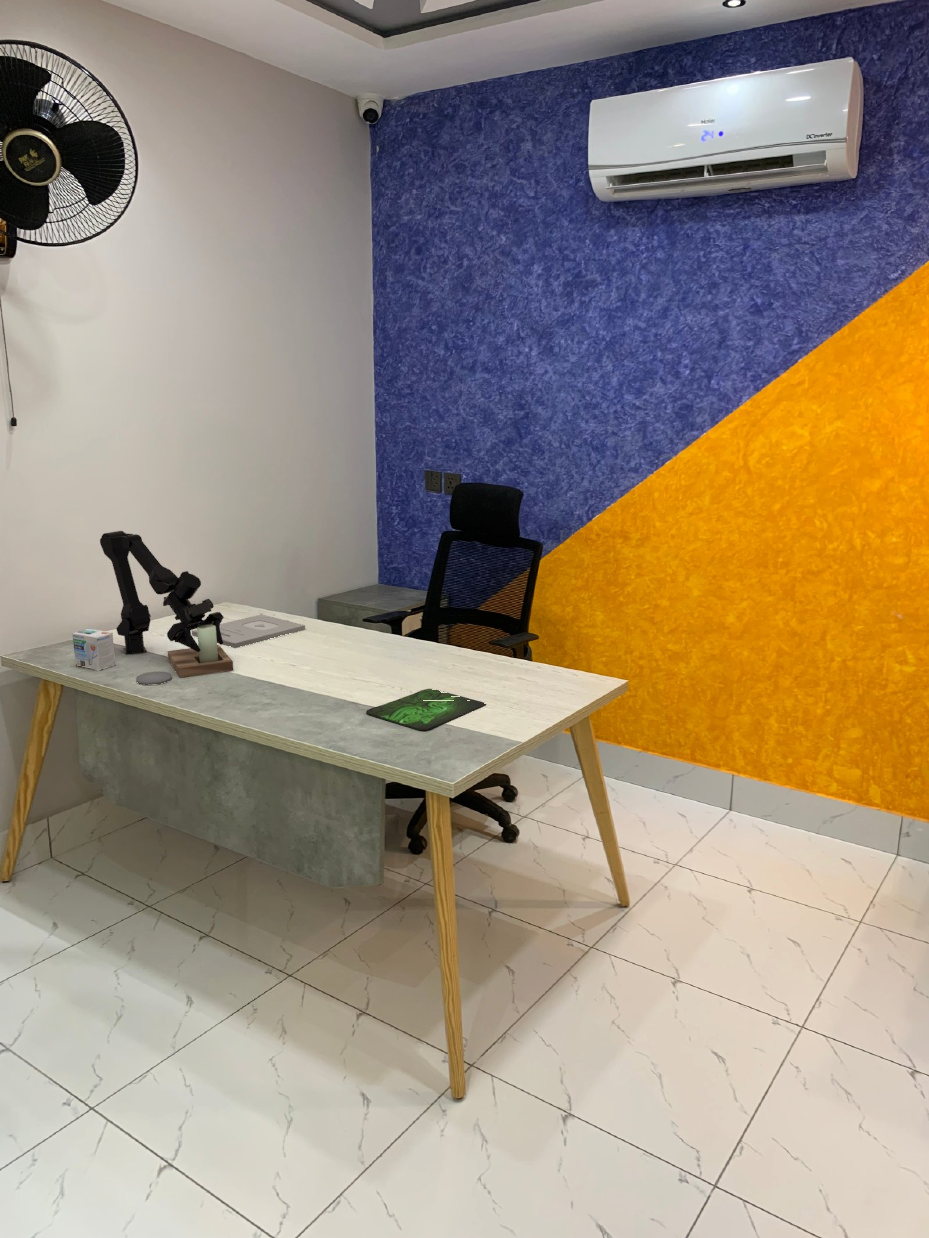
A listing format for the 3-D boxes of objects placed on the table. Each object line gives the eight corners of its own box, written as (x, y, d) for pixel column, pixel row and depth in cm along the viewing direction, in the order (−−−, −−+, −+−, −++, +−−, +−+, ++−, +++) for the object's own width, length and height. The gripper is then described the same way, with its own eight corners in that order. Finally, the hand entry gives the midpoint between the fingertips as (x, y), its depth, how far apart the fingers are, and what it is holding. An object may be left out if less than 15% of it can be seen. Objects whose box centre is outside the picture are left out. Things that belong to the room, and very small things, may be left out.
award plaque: (192, 636, 317) (191, 630, 317) (261, 619, 340) (261, 614, 339) (235, 649, 302) (234, 643, 302) (305, 631, 324) (305, 625, 324)
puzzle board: (168, 660, 289) (167, 651, 288) (219, 653, 296) (218, 644, 295) (179, 677, 272) (178, 668, 271) (233, 670, 279) (232, 661, 278)
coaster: (134, 677, 272) (133, 674, 272) (168, 672, 277) (168, 669, 276) (138, 687, 264) (138, 684, 263) (174, 682, 268) (174, 679, 268)
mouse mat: (429, 688, 263) (429, 685, 263) (490, 704, 250) (490, 701, 250) (362, 715, 243) (362, 711, 242) (424, 734, 229) (424, 730, 229)
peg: (198, 666, 283) (195, 626, 279) (216, 664, 285) (213, 623, 282) (202, 671, 278) (198, 630, 274) (220, 669, 280) (217, 628, 277)
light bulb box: (75, 666, 283) (71, 632, 280) (92, 660, 289) (89, 627, 286) (99, 671, 278) (95, 637, 276) (116, 665, 284) (113, 632, 281)
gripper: (170, 598, 270) (199, 639, 267) (217, 586, 285) (245, 625, 282) (154, 620, 276) (182, 661, 273) (201, 607, 291) (228, 646, 288)
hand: (211, 647), depth 279 cm, fingers open, 9 cm apart
